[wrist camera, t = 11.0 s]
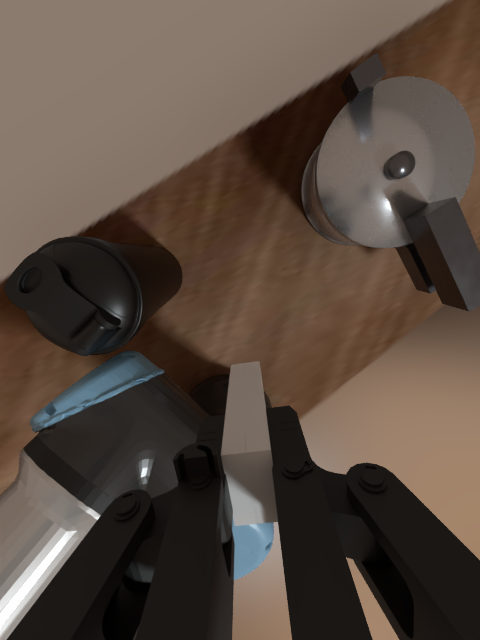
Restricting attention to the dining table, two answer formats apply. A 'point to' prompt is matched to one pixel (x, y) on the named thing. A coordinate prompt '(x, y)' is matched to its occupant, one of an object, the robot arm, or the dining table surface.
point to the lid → (403, 175)
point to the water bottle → (93, 291)
